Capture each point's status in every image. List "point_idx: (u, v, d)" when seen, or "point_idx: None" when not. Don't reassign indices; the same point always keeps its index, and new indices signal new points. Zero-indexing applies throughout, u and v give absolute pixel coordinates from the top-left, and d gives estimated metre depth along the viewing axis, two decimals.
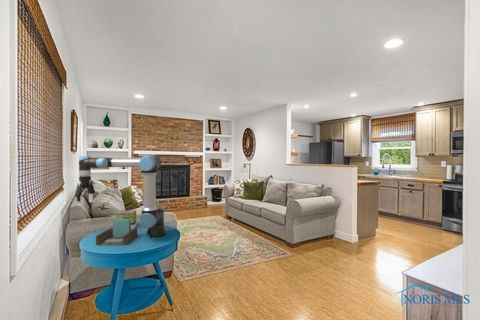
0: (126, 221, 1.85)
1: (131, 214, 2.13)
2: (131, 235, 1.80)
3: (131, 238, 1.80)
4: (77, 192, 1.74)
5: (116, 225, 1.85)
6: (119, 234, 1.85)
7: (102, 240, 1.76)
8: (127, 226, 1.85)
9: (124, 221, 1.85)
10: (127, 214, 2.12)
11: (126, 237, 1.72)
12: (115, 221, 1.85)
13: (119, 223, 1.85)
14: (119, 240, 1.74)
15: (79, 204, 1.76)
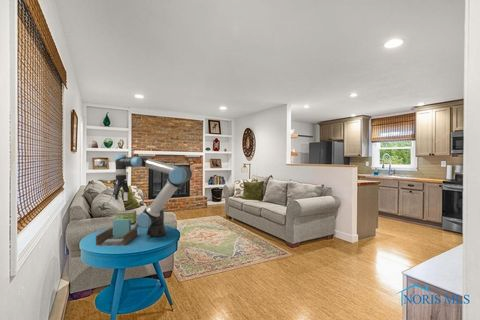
0: (126, 221, 1.85)
1: (131, 214, 2.13)
2: (131, 235, 1.80)
3: (131, 238, 1.80)
4: (115, 190, 1.77)
5: (116, 225, 1.85)
6: (119, 234, 1.85)
7: (102, 240, 1.76)
8: (127, 226, 1.85)
9: (124, 221, 1.85)
10: (127, 214, 2.12)
11: (126, 237, 1.72)
12: (115, 221, 1.85)
13: (119, 223, 1.85)
14: (119, 240, 1.74)
15: (117, 202, 1.79)
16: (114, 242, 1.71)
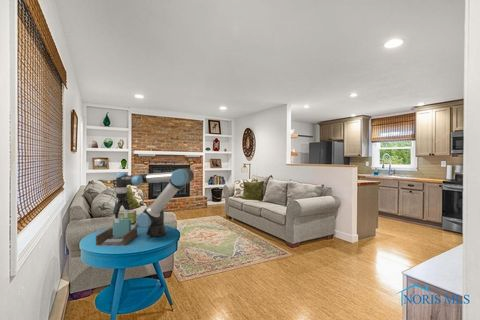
0: (126, 221, 1.85)
1: (131, 214, 2.13)
2: (131, 235, 1.80)
3: (131, 238, 1.80)
4: (115, 209, 1.77)
5: (116, 225, 1.85)
6: (119, 234, 1.85)
7: (102, 240, 1.76)
8: (127, 226, 1.85)
9: (124, 221, 1.85)
10: None
11: (126, 237, 1.72)
12: None
13: (119, 223, 1.85)
14: (119, 240, 1.74)
15: (117, 221, 1.79)
16: (114, 242, 1.71)
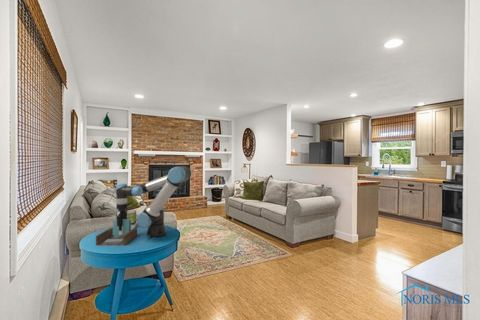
0: (126, 221, 1.85)
1: (131, 214, 2.13)
2: (131, 235, 1.80)
3: (131, 238, 1.80)
4: (118, 222, 1.81)
5: (116, 225, 1.85)
6: (118, 234, 1.85)
7: (102, 240, 1.76)
8: (127, 226, 1.85)
9: (124, 221, 1.85)
10: (127, 214, 2.12)
11: (126, 237, 1.72)
12: (115, 221, 1.85)
13: None
14: (119, 240, 1.74)
15: (121, 233, 1.84)
16: (114, 242, 1.71)
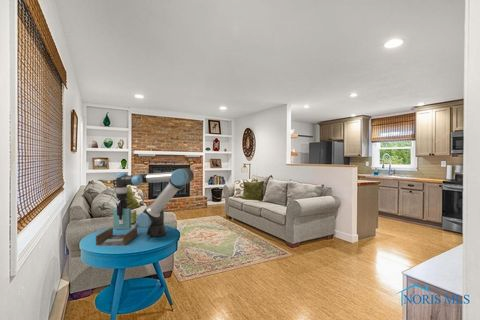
0: (126, 210, 1.85)
1: (131, 214, 2.13)
2: (131, 235, 1.80)
3: (131, 238, 1.80)
4: (119, 211, 1.81)
5: (116, 214, 1.85)
6: None
7: (102, 240, 1.76)
8: (127, 215, 1.85)
9: (124, 210, 1.85)
10: None
11: (126, 237, 1.72)
12: (115, 210, 1.85)
13: None
14: (119, 240, 1.75)
15: (121, 222, 1.84)
16: (115, 242, 1.72)
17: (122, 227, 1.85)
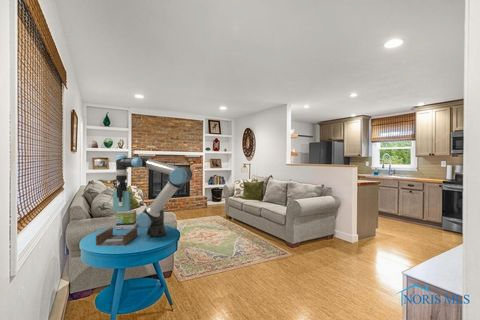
0: (126, 192, 1.84)
1: (131, 214, 2.13)
2: (131, 235, 1.80)
3: (131, 238, 1.80)
4: (118, 193, 1.81)
5: (115, 197, 1.85)
6: (118, 205, 1.85)
7: (102, 240, 1.76)
8: (127, 197, 1.84)
9: (124, 192, 1.84)
10: (127, 214, 2.12)
11: (126, 237, 1.72)
12: (115, 192, 1.84)
13: None
14: (119, 240, 1.74)
15: (120, 204, 1.84)
16: (114, 242, 1.72)
17: (122, 209, 1.85)
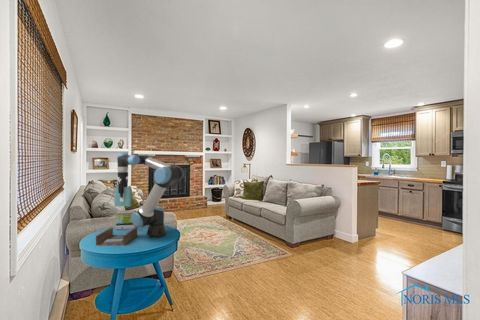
0: (127, 188, 1.93)
1: (131, 214, 2.13)
2: (131, 235, 1.80)
3: (131, 238, 1.80)
4: (120, 189, 1.89)
5: (117, 192, 1.93)
6: None
7: (102, 240, 1.76)
8: (128, 193, 1.93)
9: (125, 188, 1.93)
10: (127, 214, 2.12)
11: (126, 237, 1.72)
12: (116, 188, 1.93)
13: None
14: (119, 240, 1.74)
15: (122, 200, 1.92)
16: (114, 242, 1.72)
17: (123, 205, 1.93)
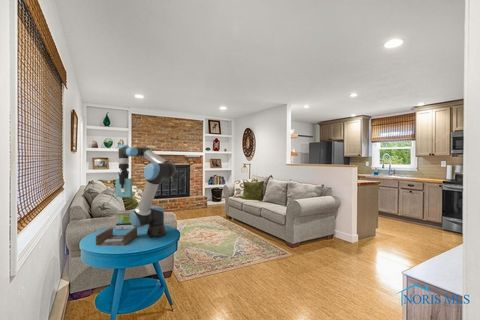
0: (128, 180, 1.98)
1: None
2: (131, 235, 1.80)
3: (131, 238, 1.80)
4: (121, 180, 1.95)
5: (118, 183, 1.98)
6: (121, 192, 1.99)
7: (102, 240, 1.76)
8: (128, 184, 1.98)
9: (126, 180, 1.98)
10: (127, 214, 2.12)
11: (126, 237, 1.72)
12: (117, 180, 1.98)
13: None
14: (119, 239, 1.75)
15: (123, 191, 1.98)
16: (114, 242, 1.72)
17: (124, 195, 1.99)
